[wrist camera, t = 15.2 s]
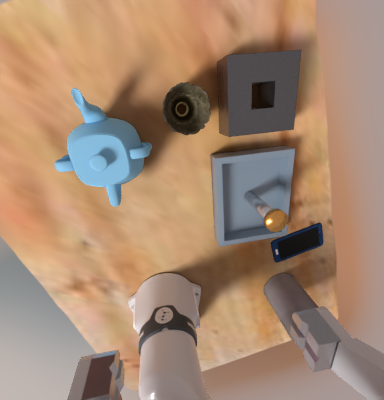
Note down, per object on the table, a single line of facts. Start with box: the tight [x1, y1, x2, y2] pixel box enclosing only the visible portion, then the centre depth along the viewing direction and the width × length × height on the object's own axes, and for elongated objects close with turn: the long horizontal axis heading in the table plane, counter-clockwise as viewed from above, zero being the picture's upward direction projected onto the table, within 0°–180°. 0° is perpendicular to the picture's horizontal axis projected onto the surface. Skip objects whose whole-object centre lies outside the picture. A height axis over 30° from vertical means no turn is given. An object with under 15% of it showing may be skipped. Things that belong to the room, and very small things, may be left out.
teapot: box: [55, 88, 152, 207], centre depth 36 cm, size 13×14×11 cm
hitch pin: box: [244, 191, 288, 232], centre depth 43 cm, size 4×4×12 cm
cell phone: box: [271, 223, 323, 262], centre depth 58 cm, size 7×14×1 cm, turn 109°
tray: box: [211, 145, 295, 247], centre depth 48 cm, size 20×16×4 cm
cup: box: [163, 82, 211, 135], centre depth 37 cm, size 8×7×8 cm
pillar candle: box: [264, 273, 318, 342], centre depth 56 cm, size 10×10×15 cm
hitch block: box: [217, 50, 301, 137], centre depth 39 cm, size 12×12×6 cm
